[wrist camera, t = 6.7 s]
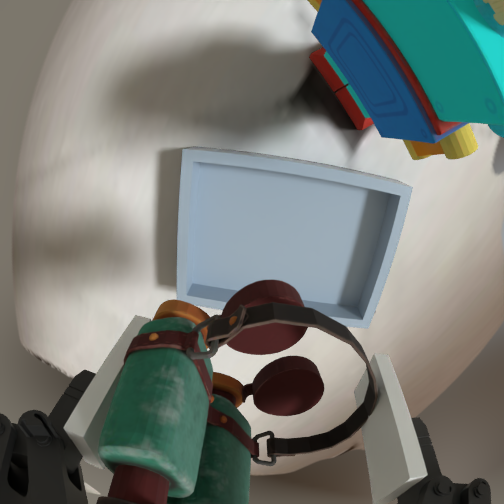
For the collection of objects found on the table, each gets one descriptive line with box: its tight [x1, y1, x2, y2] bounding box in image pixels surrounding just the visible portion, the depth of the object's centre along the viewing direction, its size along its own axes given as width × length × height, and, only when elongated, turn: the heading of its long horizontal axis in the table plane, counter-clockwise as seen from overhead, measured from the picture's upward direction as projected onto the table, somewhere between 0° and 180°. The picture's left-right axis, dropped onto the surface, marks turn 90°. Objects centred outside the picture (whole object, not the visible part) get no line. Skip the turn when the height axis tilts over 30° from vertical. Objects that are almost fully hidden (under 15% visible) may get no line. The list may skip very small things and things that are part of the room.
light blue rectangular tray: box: [177, 147, 413, 328], centre depth 27 cm, size 15×20×4 cm
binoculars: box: [97, 279, 378, 504], centre depth 9 cm, size 9×11×10 cm
